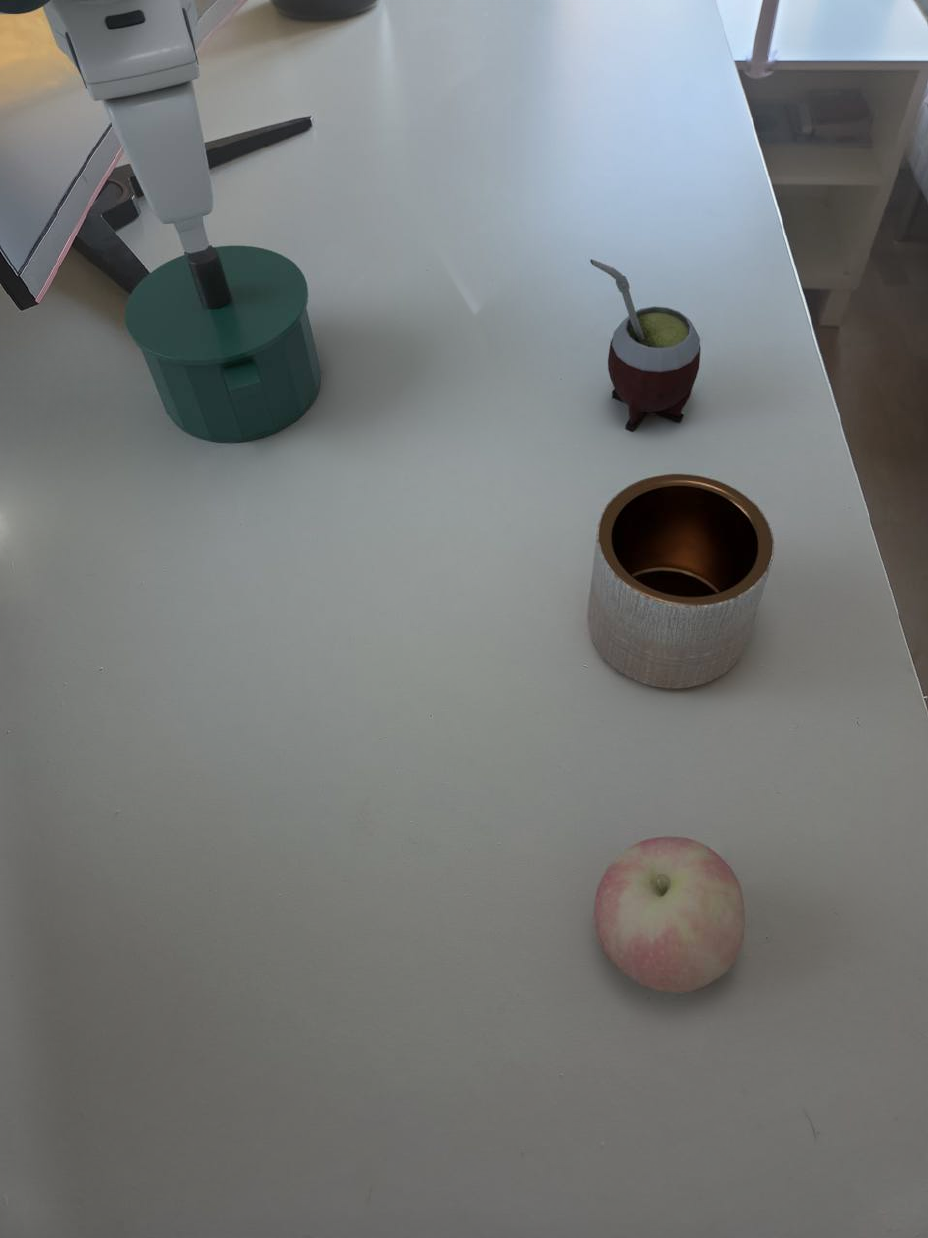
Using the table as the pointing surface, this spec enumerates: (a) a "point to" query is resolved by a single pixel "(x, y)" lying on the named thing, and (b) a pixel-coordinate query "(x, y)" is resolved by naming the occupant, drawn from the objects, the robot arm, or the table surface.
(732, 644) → the planter
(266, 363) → the pot
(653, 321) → the mate gourd
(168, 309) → the lid
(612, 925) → the apple
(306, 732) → the table surface
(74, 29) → the robot arm
